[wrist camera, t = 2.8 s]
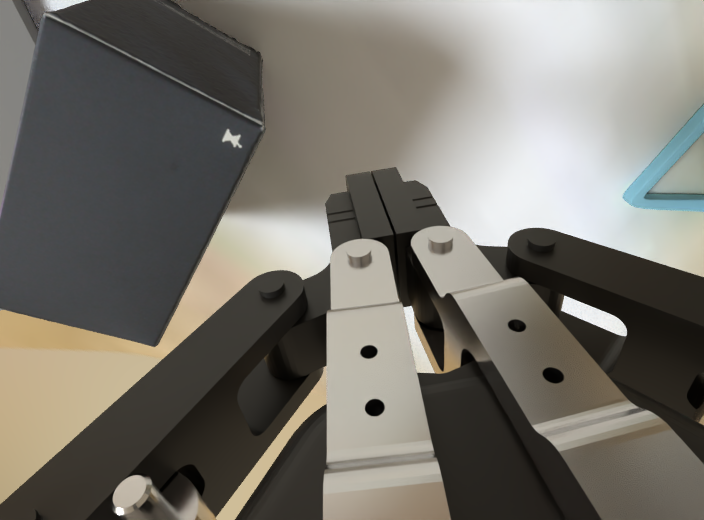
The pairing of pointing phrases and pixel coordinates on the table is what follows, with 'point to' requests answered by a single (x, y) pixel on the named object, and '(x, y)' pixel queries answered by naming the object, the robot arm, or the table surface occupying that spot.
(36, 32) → the mat
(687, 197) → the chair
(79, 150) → the small box
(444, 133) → the table surface
